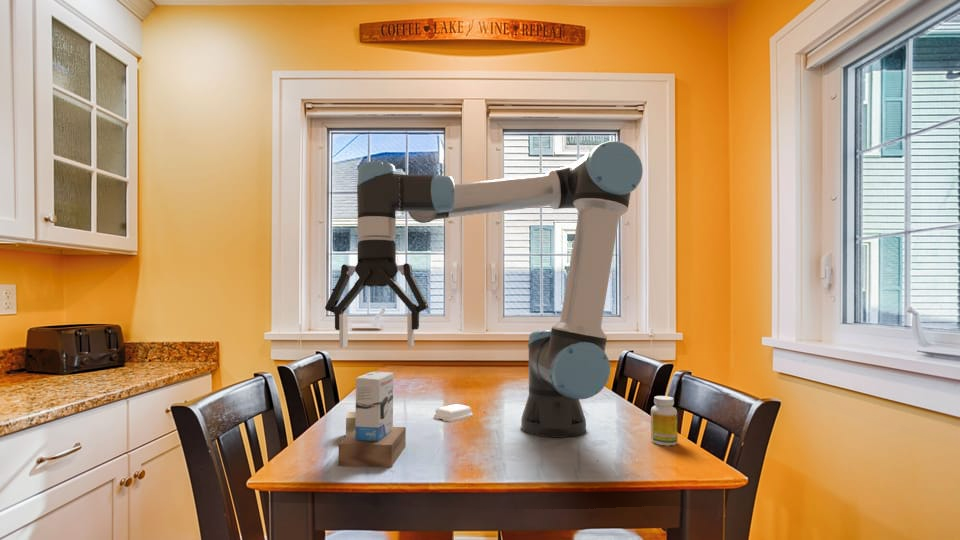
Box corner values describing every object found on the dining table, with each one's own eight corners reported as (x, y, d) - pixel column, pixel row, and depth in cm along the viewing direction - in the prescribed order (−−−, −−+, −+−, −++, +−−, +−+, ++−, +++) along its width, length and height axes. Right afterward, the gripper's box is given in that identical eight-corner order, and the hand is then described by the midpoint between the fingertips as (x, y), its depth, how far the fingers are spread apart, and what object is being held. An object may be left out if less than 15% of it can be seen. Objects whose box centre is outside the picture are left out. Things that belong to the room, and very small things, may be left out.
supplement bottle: (647, 438, 108) (646, 395, 109) (671, 438, 108) (670, 394, 109) (657, 446, 103) (656, 400, 103) (682, 446, 103) (681, 400, 103)
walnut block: (405, 446, 102) (405, 427, 102) (391, 466, 90) (391, 444, 90) (358, 445, 103) (358, 426, 103) (338, 465, 91) (338, 443, 91)
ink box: (378, 442, 92) (379, 378, 92) (353, 440, 93) (354, 378, 93) (394, 429, 100) (394, 371, 101) (371, 428, 101) (372, 371, 102)
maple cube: (369, 433, 112) (369, 411, 112) (369, 440, 107) (369, 416, 107) (346, 434, 111) (347, 412, 111) (345, 441, 106) (346, 418, 106)
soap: (450, 423, 121) (450, 411, 122) (431, 418, 126) (431, 407, 126) (474, 417, 128) (474, 405, 128) (456, 412, 133) (456, 401, 133)
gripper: (441, 241, 101) (441, 344, 100) (323, 243, 103) (323, 344, 102) (435, 237, 94) (436, 348, 93) (308, 239, 95) (308, 349, 94)
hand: (377, 346), depth 97 cm, fingers open, 13 cm apart
